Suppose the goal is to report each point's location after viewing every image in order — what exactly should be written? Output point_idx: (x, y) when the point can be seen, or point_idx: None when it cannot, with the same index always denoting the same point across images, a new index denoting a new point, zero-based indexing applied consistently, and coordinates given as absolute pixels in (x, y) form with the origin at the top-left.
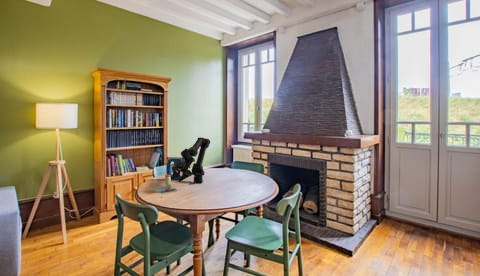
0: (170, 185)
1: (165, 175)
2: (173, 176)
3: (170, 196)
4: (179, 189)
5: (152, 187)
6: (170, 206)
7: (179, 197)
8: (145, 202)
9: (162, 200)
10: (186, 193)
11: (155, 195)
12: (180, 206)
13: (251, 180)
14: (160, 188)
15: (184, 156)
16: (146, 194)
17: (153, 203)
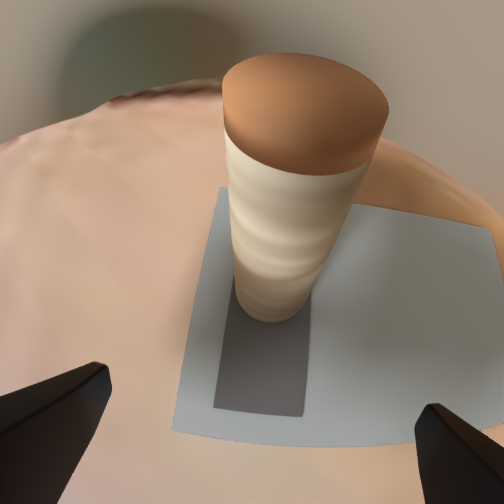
0: (236, 269)
1: (330, 61)
2: (454, 477)
3: (150, 232)
4: (184, 426)
5: (499, 273)
6: (49, 129)
7: (59, 257)
8: None
9: (147, 144)
10: None
11: None
12: (4, 158)
13: None
14: (432, 301)
15: None
16: (386, 168)
17: (164, 99)
